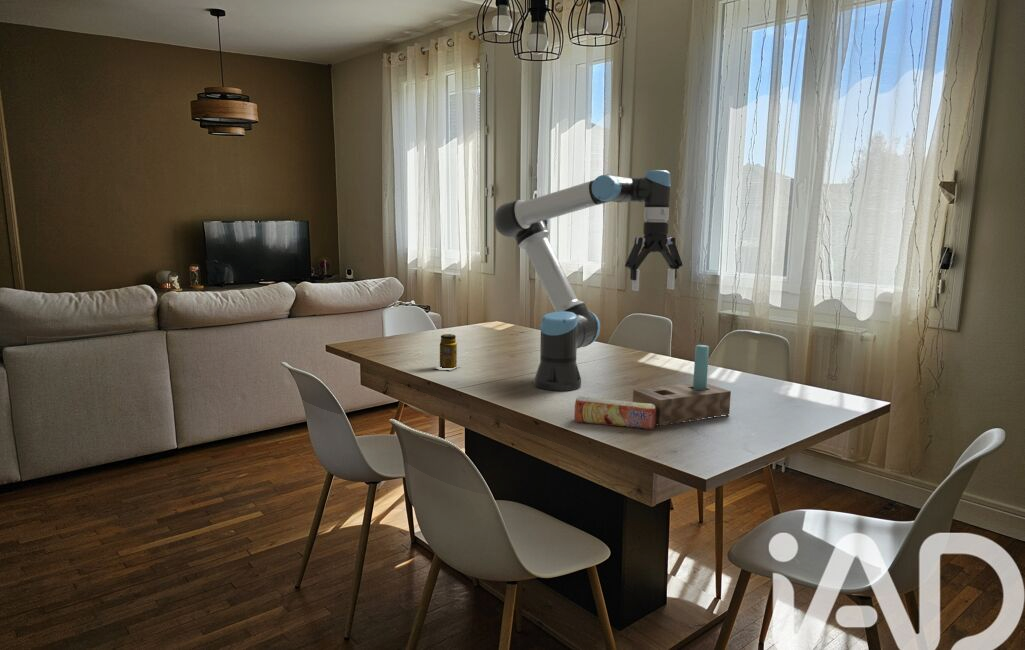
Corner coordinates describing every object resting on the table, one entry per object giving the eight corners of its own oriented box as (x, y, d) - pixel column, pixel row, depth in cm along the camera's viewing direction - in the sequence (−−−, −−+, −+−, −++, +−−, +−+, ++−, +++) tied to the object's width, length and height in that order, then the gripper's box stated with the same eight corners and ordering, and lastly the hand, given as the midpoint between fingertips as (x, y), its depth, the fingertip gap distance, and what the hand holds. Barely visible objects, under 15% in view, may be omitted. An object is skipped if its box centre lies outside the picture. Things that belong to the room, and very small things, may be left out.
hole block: (659, 426, 179) (660, 400, 178) (632, 414, 190) (633, 389, 189) (729, 415, 189) (730, 391, 188) (699, 405, 200) (701, 381, 199)
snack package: (656, 425, 181) (657, 400, 180) (653, 432, 174) (655, 406, 173) (577, 417, 187) (578, 393, 186) (572, 424, 180) (573, 399, 179)
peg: (697, 411, 190) (701, 347, 187) (688, 408, 193) (693, 345, 190) (707, 410, 191) (711, 346, 188) (698, 406, 194) (703, 344, 192)
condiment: (461, 367, 247) (461, 334, 245) (450, 371, 239) (449, 338, 237) (443, 365, 249) (443, 332, 248) (431, 369, 242) (431, 336, 240)
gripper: (629, 221, 202) (627, 292, 205) (696, 222, 212) (692, 289, 216) (615, 221, 208) (612, 290, 212) (680, 221, 219) (677, 287, 222)
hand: (653, 290), depth 214 cm, fingers open, 13 cm apart
